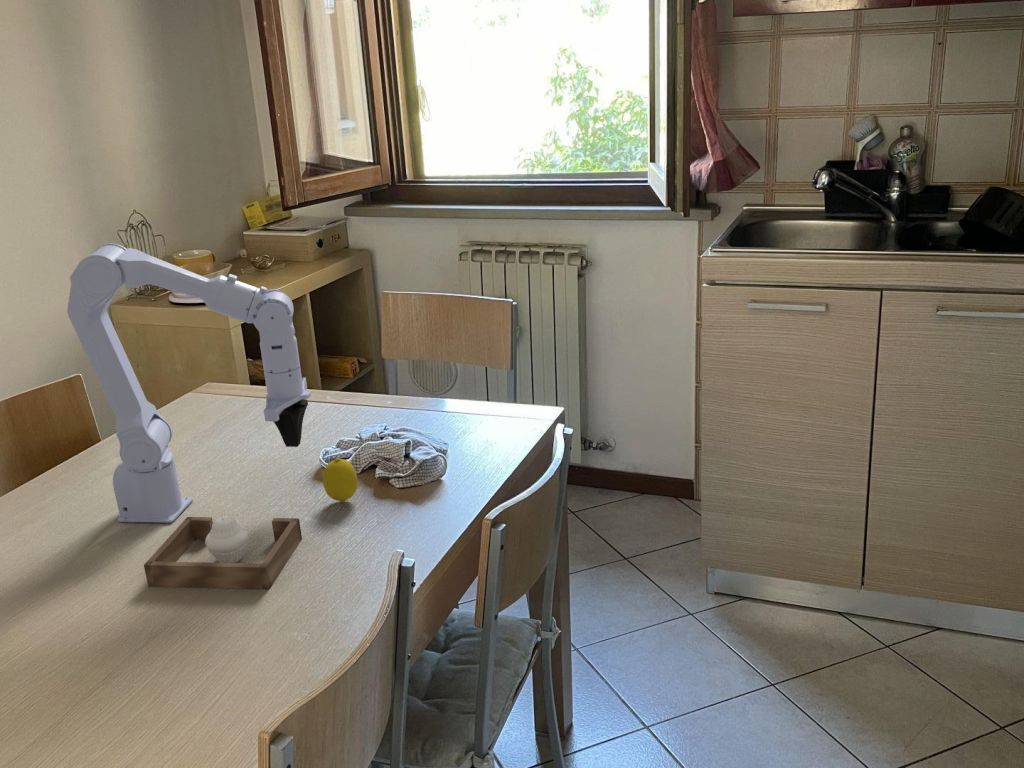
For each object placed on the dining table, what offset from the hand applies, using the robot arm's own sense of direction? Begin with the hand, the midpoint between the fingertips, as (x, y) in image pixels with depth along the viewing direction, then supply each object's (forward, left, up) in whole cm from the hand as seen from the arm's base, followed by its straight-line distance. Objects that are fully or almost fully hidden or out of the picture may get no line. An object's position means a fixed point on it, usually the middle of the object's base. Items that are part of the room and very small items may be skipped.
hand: (293, 445), depth 154 cm
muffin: (-4, -20, -10) cm, 23 cm away
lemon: (+8, -2, -10) cm, 13 cm away
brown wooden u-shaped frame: (-4, -21, -9) cm, 23 cm away
